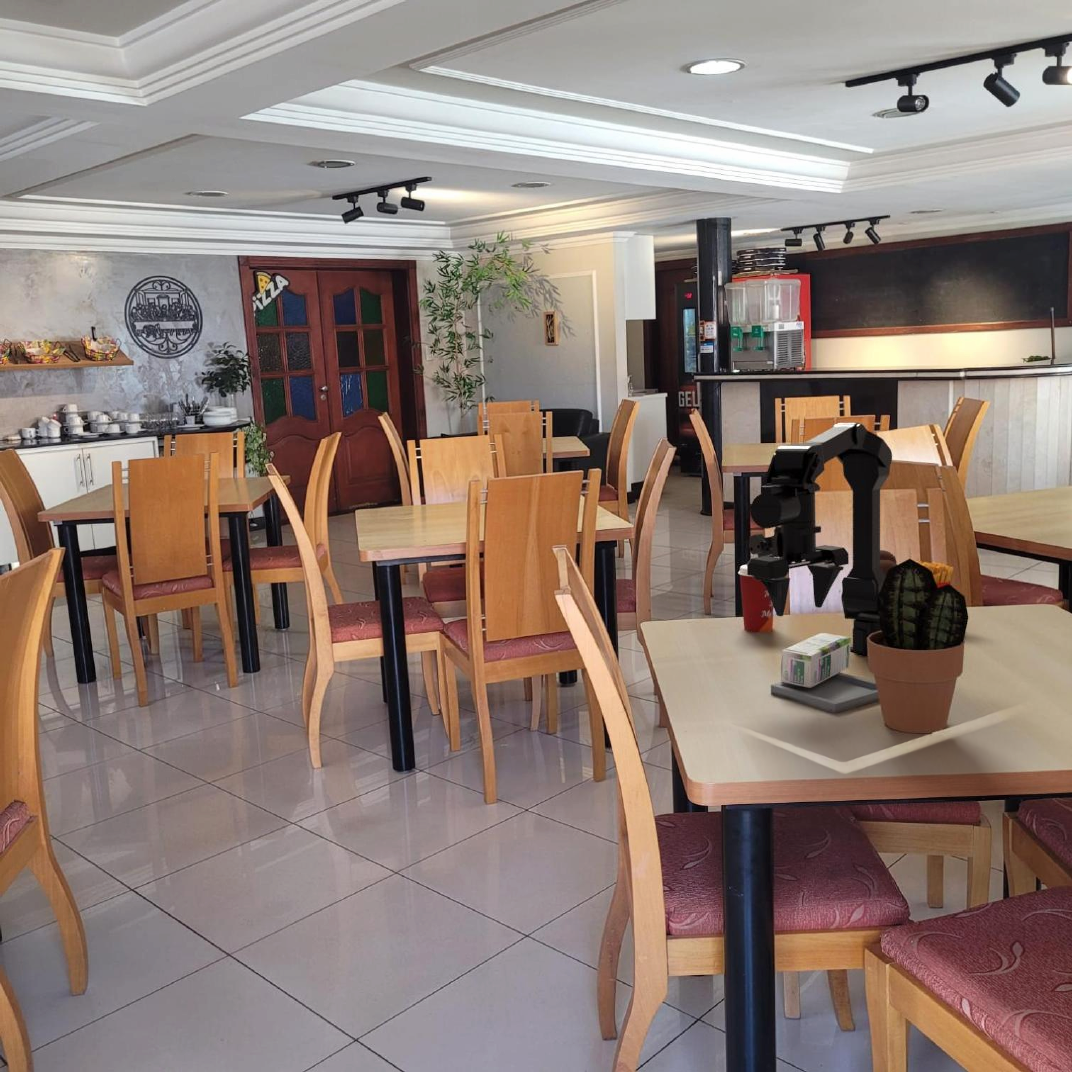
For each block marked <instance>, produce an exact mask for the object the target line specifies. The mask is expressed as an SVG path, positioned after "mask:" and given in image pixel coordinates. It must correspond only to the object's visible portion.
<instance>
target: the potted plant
mask: <svg viewBox="0 0 1072 1072" xmlns="http://www.w3.org/2000/svg"><path fill="white" fill-rule="evenodd" d="M915 561H916V560H913V559H911V558H908V559H906V560H904V561H903V562H900V563H899V564H897V565H896V566H894V567H893V568H891V569H889V570H888V572H887V575H886V577H885V580H884V583H883V585H882V588H881V591H880V593H879V615H880V628H881V630H882V631H878V632H875V633H872V634H870V635H869V636H868V637H867V649H868V655H867V663H868V664H867V665H868V670H869V672H871V673H872V674H873V677H874V682H876V687H877V692H878V696H879V701H878V702H879V705H880V710H881V715H882V719H883V723H884V725H885V726H887V727H888V728H889V729H892V730H894V731H898V732H902V733H906V734H907V733H910V734H931V733H932V734H933V733H936V732H941V730H942V731H943V730H944V729H945V728H946V726H947V724H948V721H949V715H950V710H951V706H952V702H953V698H954V693H955V688H956V685H957V679H958V678H959V677H960V676H961V675H962V674H963V670H964V658H965V657H964V654H965V637H966V631H967V626H968V622H969V614H968V608H967V603H966V596H965V595H964V594H963V593H961V592H960V591H959V590H957V589H956V588H955V587H954V586H953V585H951V584H947V585H945V586H942V587H939V588H938V587H937V585H936V582H935V579H934V576H933V574H932V571H931V570H929V569H928V568H926V567H924V566H923V565H921V564H919V563H917V562H915Z"/></svg>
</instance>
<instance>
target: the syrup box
mask: <svg viewBox="0 0 1072 1072" xmlns="http://www.w3.org/2000/svg"><path fill="white" fill-rule="evenodd" d="M850 647H851V637H849V636H844V635H837V634H831V633H825V632H820V633H818V634H816V635H813V636H811V637H809V638H807V639H806V638H805V639H804V640H802V641H801V642H798V643H795V644H794V645H793V644H792V645H791V646H789V647H787V648H784V649H782V650H781V665H780V673H781V674H780V682H784V683H789V684H794V685H799V686H804V687H809V688H811V687H813V686H815V685H817V684H819V683H821V682H823V681H824V680H826V679H828V678H830V677H832V676H834V675H836V674H838V673H842V672H843V671H845V670H846V671H847V670H848V669H850V663H851V662H850V661H851V651H850Z"/></svg>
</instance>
